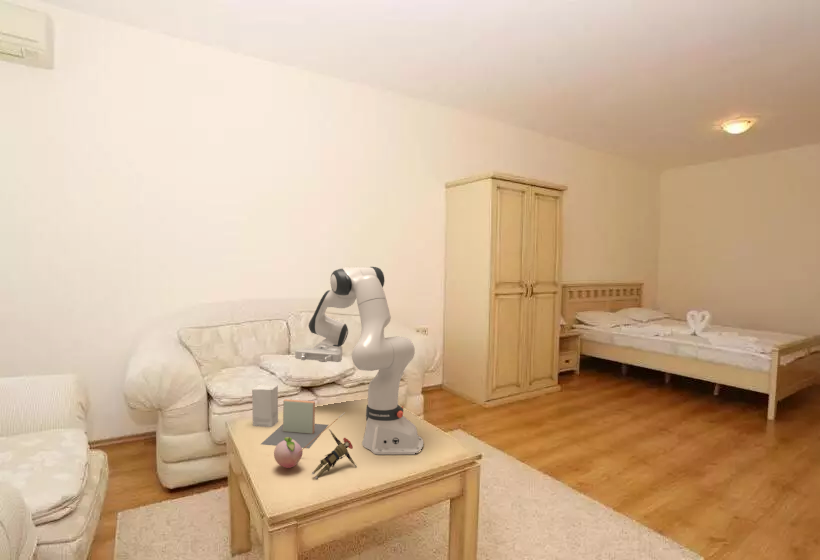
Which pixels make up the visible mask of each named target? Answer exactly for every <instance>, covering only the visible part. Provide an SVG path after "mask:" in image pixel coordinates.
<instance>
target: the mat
mask: <svg viewBox="0 0 820 560" xmlns="http://www.w3.org/2000/svg"><path fill="white" fill-rule="evenodd" d="M328 426H329V424H324V423H322V424H321V423H315V430H314V433H313V434H309V433H296V432H284V431H283V423H282V424H281V425H280V426H279V427H278V428H277V429H275V431H273V432H272V433H271V434H270V435H269V436H268V437H266V439H265V440H264V441H262V442H261V443H260V445H263V446H264V445H265V446H266V445H267V446H275V447H276V446H277V445H278V444H279V443H280V442H282V441H283V440H284V438H285V437H291V438H292V439H293V440H295V441H296V442H297V443H298V444H299V445H300V446H301V448H302V449H303V448H304V447H306V446H307V445H308V444H309V443H310V442H311V441H312V440H313V441H312V442H311V443H310V444H309V445H308V446H307V447H306V448H304V449H310V448H311V447H312V446H313V444H314V443H315V442H316V441H317V440H318V438H320V436H321V434H322V432H323V431H324V430H325V429H326V428H327V427H328ZM326 430H327V429H326ZM326 430H325V431H326ZM325 431H324V432H325ZM324 432H323V433H324ZM320 433H321V434H320ZM319 434H320V435H319ZM318 435H319V436H318ZM317 436H318V437H317ZM316 437H317V438H316ZM315 438H316V439H315ZM314 439H315V440H314Z"/></svg>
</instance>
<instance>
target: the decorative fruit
mask: <svg viewBox="0 0 820 560" xmlns="http://www.w3.org/2000/svg"><path fill="white" fill-rule="evenodd" d="M302 449H303V448H301V446H300V445H299V444H298V443H297V442H296V441H295V440H293V439H292V438H291V437H285V438H284V440H283V441H282V442H280V443H279V444H278V445H277V446H275V448H274V452H273V457H274V461H275V462H276V463H277V464H278V465H279V466H281V467H283V468H285V469H286V468H287V469H291V468H293V467H295V466H296V465H297V464H298V463H299V462H300V461H301V459H302V456H303V454H304V453H303V450H302ZM301 450H302V451H301ZM300 451H301V452H300ZM299 452H300V453H299ZM298 453H299V454H298Z"/></svg>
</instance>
